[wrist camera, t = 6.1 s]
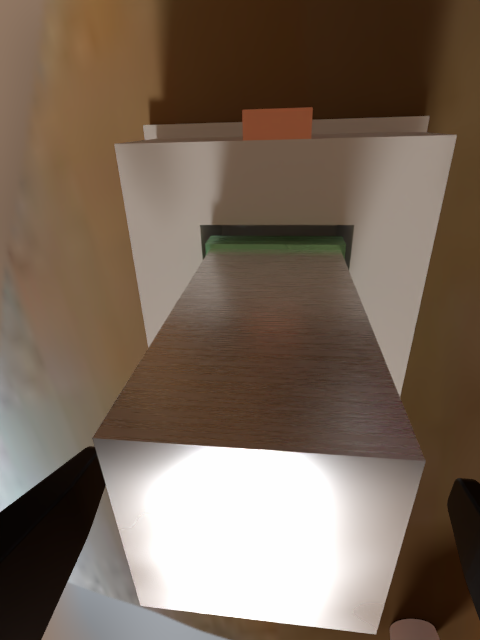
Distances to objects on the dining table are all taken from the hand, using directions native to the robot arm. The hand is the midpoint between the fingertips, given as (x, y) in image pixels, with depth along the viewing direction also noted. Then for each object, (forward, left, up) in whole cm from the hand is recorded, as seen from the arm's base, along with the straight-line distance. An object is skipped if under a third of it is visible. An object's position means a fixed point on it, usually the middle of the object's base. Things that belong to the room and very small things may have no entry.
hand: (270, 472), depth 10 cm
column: (0, -3, -6) cm, 7 cm away
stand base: (0, -3, -11) cm, 11 cm away
